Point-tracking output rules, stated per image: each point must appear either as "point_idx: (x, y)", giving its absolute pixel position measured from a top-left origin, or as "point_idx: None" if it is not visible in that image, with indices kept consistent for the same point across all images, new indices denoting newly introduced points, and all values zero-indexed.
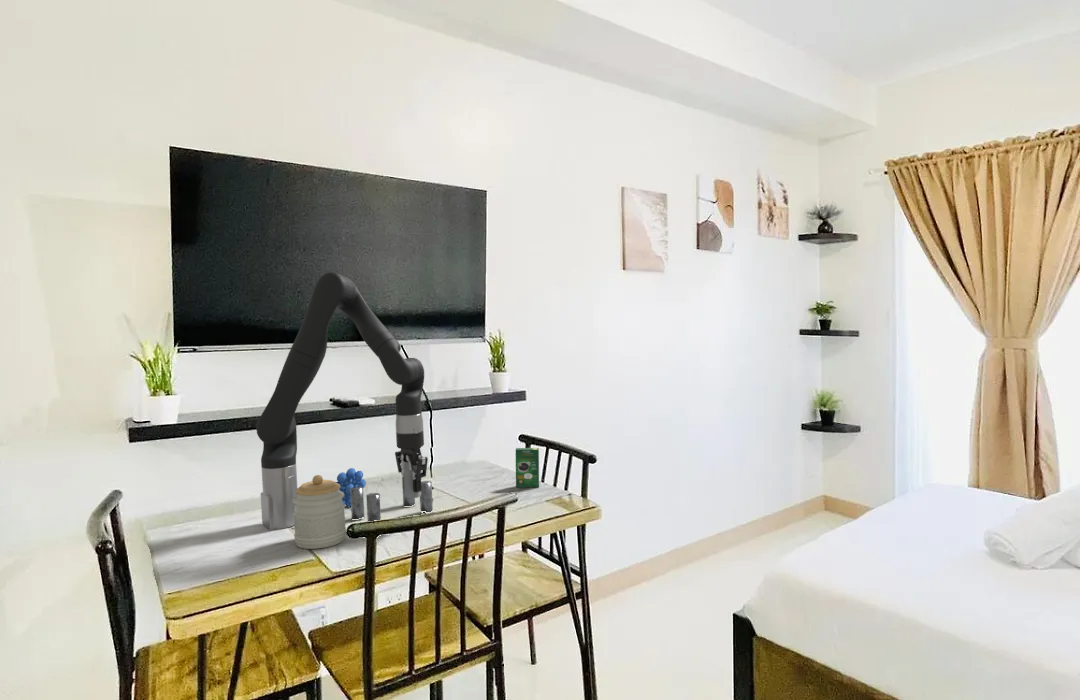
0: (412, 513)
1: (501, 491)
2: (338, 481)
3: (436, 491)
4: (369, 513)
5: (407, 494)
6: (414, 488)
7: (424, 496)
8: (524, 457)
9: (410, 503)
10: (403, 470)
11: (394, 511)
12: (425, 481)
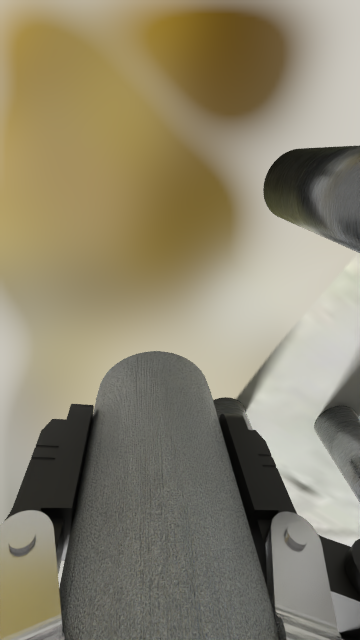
0: (263, 383)
1: None
2: None
3: (341, 524)
4: (338, 147)
5: (144, 367)
6: (65, 426)
7: None
8: None
9: (325, 426)
10: (290, 591)
11: (346, 360)
12: None
